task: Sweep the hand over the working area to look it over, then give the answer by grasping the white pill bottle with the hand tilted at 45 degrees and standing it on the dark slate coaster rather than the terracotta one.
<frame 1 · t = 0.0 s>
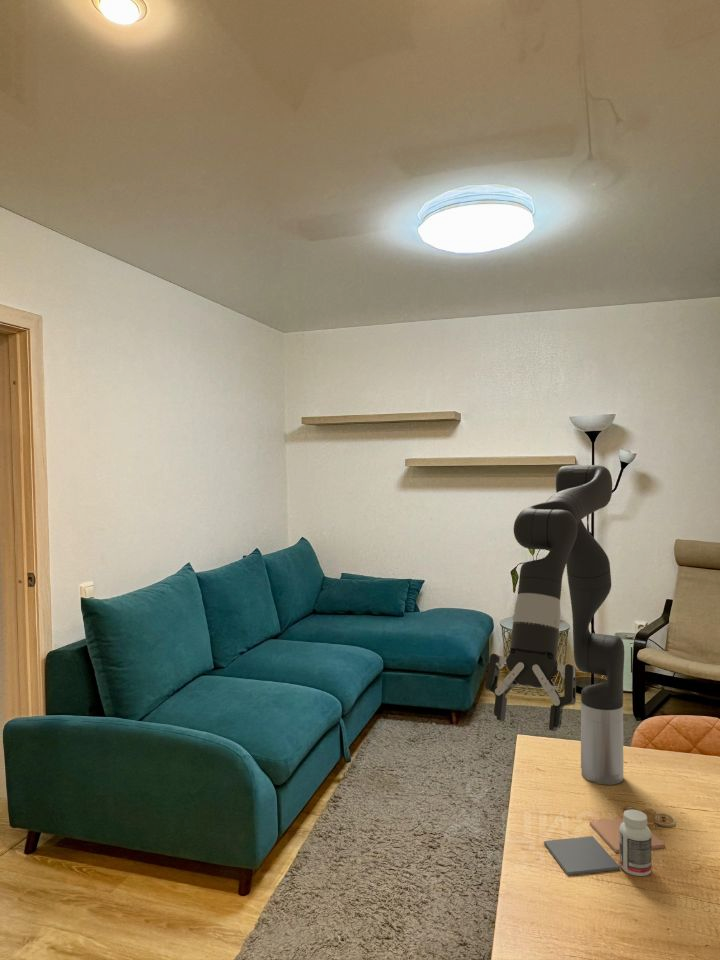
hand: (525, 725, 107), 31 cm above the table, tool tilted 20°, fingers open, 8 cm apart
terracotta coaster: (626, 835, 131), on the table
slate coaster: (580, 856, 125), on the table
pill bottle: (635, 869, 121), on the table
cookie: (649, 820, 137), on the table
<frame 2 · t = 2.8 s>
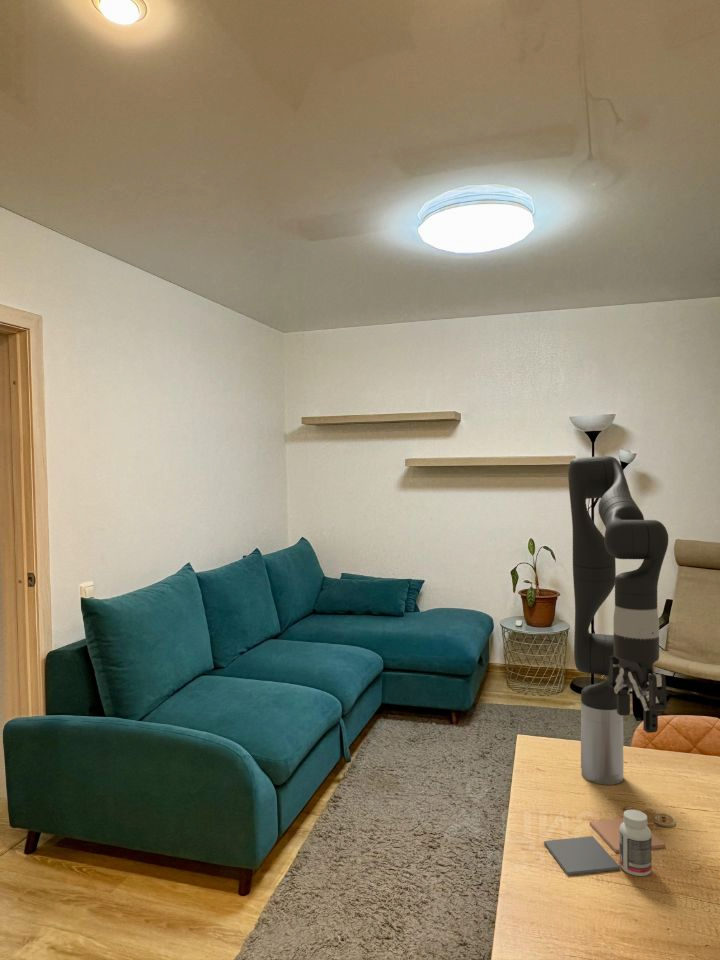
hand: (636, 722, 119), 27 cm above the table, tool pointing down, fingers open, 8 cm apart
nothing on the table moved.
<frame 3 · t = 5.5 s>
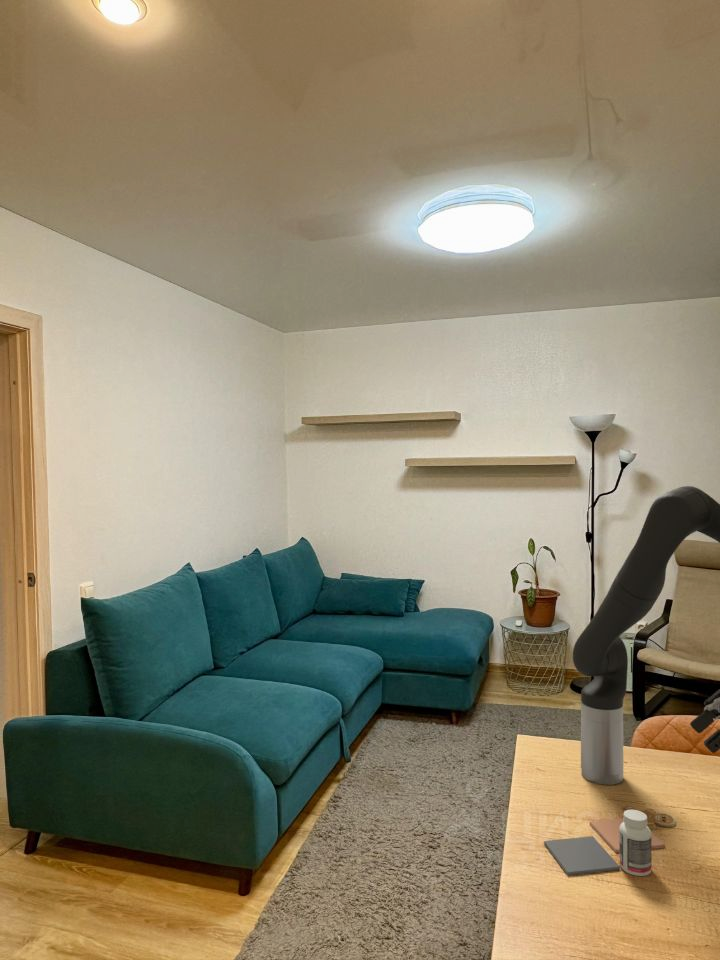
hand: (700, 738, 118), 24 cm above the table, tool tilted 45°, fingers open, 8 cm apart
nothing on the table moved.
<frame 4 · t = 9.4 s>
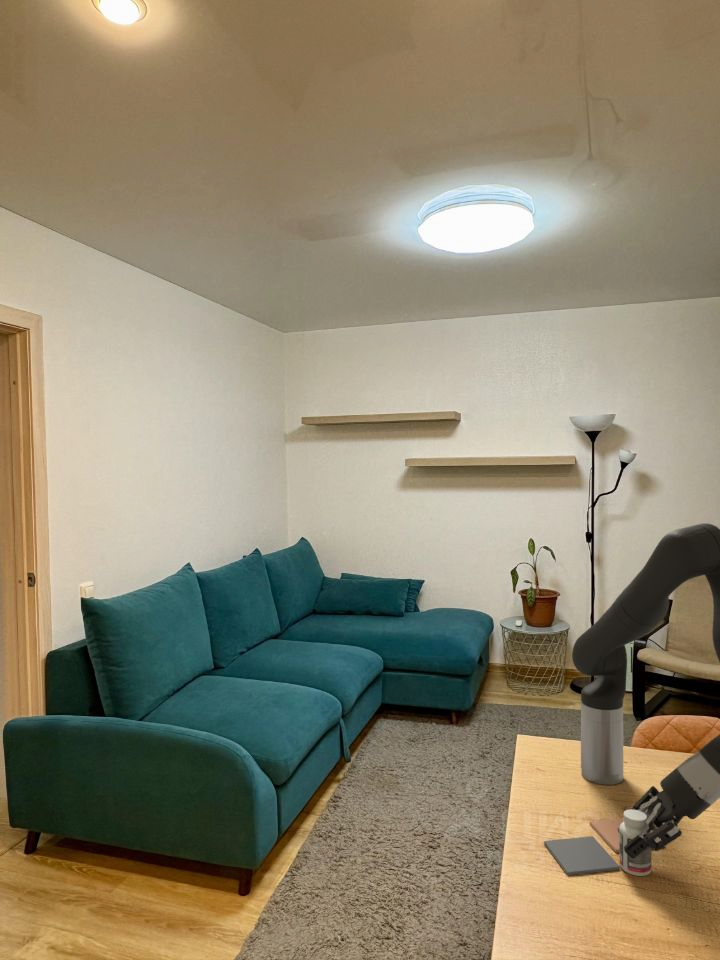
hand: (624, 844, 121), 4 cm above the table, tool tilted 45°, fingers closed on pill bottle, 5 cm apart
pill bottle: (635, 869, 121), on the table, touching gripper
everything else where it was.
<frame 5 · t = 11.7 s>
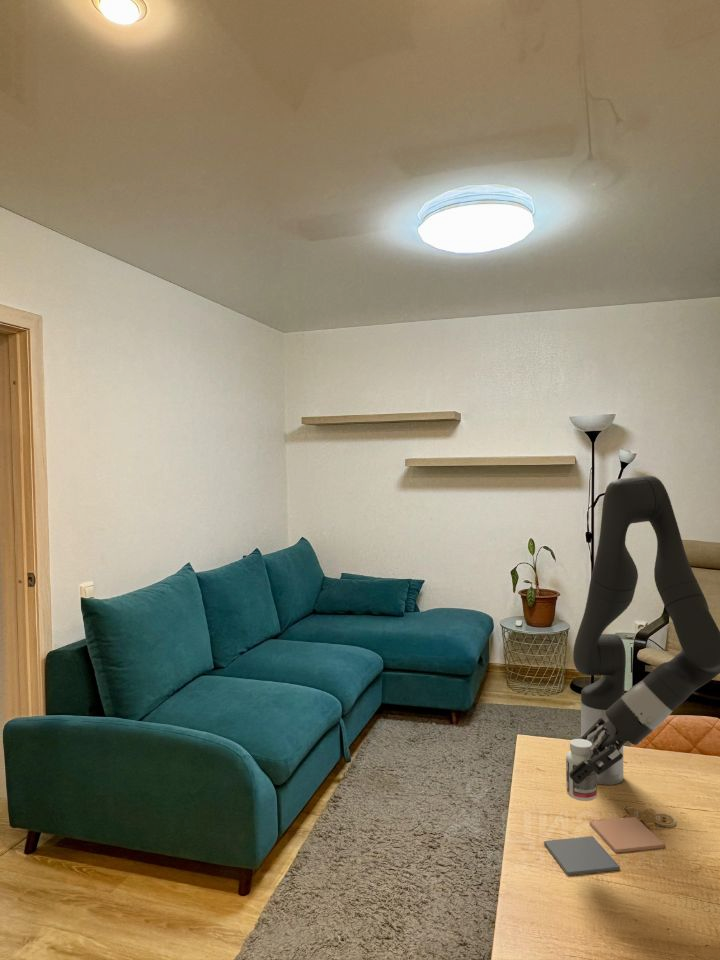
hand: (571, 771, 125), 16 cm above the table, tool tilted 45°, fingers closed on pill bottle, 5 cm apart
pill bottle: (581, 795, 124), point 11 cm above the table, touching gripper
everything else where it was.
when the fingers open (6 cm above the table, at t = 14.0 s): pill bottle stays where it is, resting on slate coaster.
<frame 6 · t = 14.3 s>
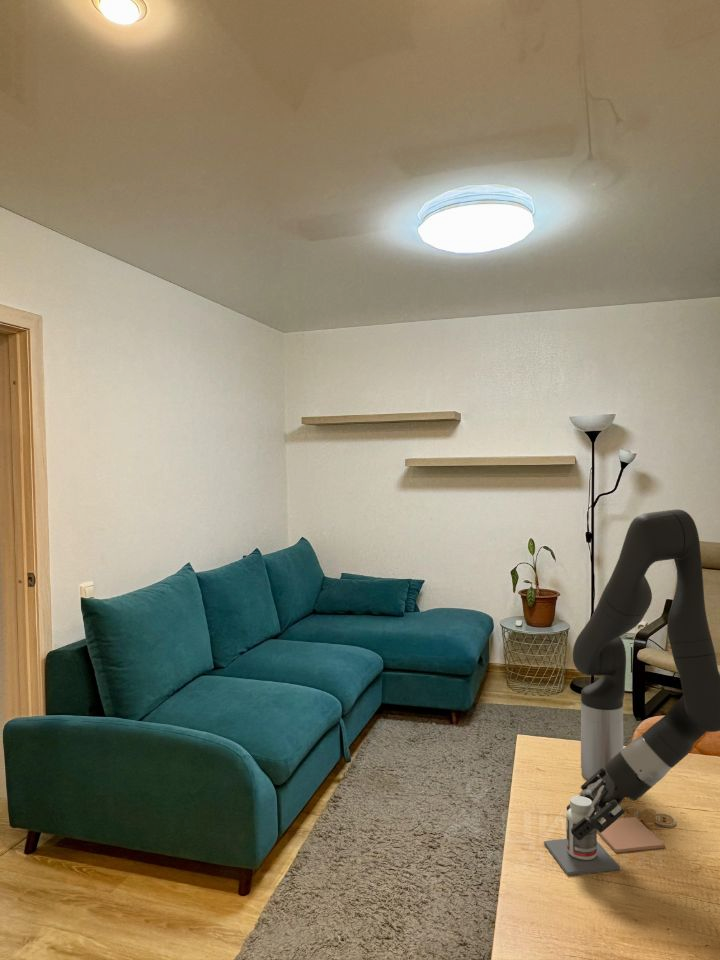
hand: (572, 823, 125), 6 cm above the table, tool tilted 45°, fingers open, 7 cm apart
pill bottle: (581, 854, 125), resting on slate coaster
everything else where it was.
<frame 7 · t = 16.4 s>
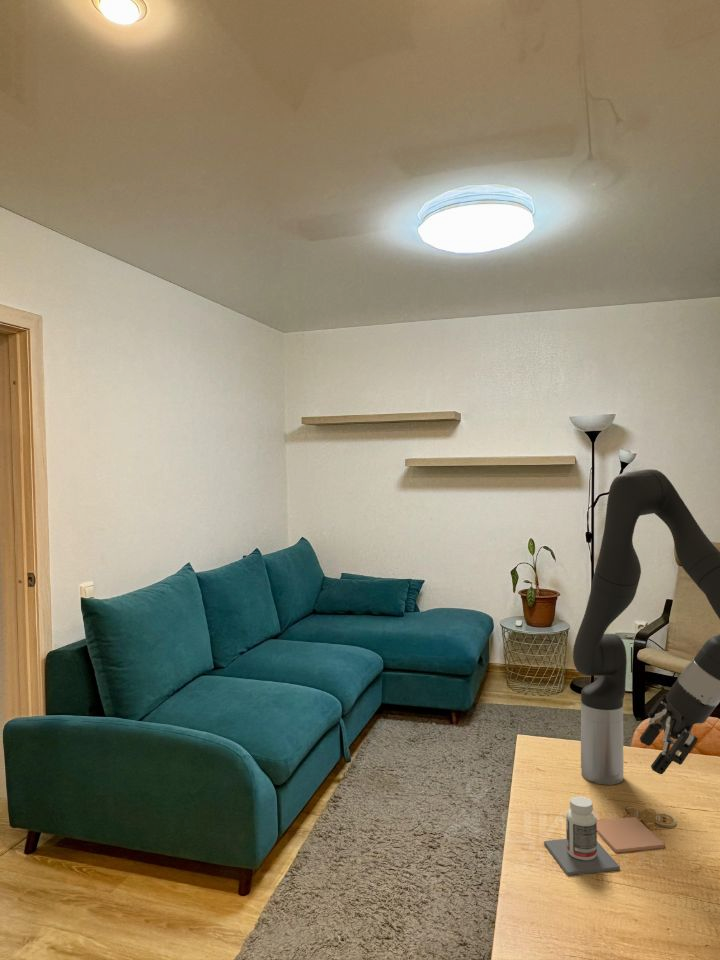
hand: (649, 756, 126), 18 cm above the table, tool tilted 30°, fingers open, 8 cm apart
nothing on the table moved.
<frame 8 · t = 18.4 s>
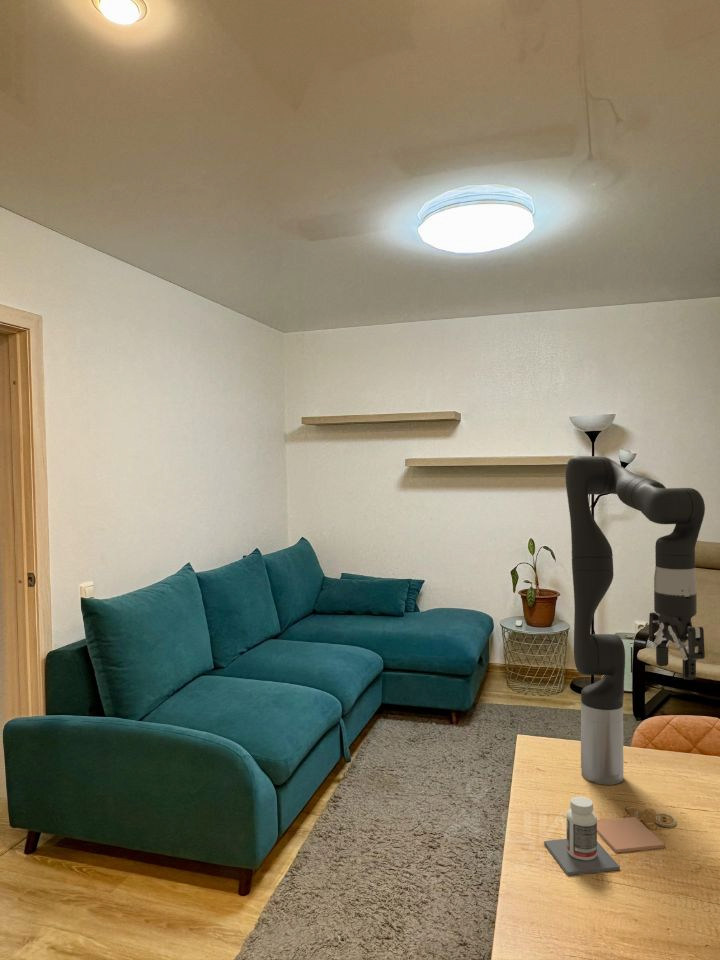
hand: (675, 672, 131), 32 cm above the table, tool pointing down, fingers open, 8 cm apart
nothing on the table moved.
at the end: pill bottle inside the target area on the slate coaster (0.2 cm from its centre), point 0.4 cm above the slate coaster's base; pill bottle tilted 0°; the gripper is holding nothing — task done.
